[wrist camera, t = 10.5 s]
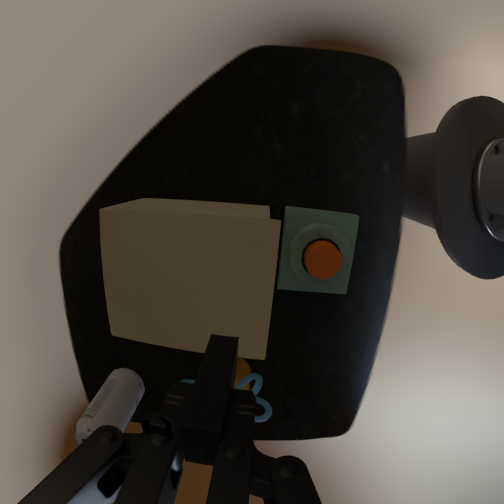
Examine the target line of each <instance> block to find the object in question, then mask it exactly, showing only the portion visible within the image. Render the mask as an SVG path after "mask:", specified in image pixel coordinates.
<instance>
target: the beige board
mask: <svg viewBox="0 0 504 504" xmlns="http://www.w3.org/2000/svg"><path fill="white" fill-rule="evenodd" d="M280 227H281V220H275V219H265V218H254V217H242V216H230V215H217V214H204V213H190V212H175V211H158V210H139V209H118V208H102V209H100V236H101V253H102V266H103V277H104V286H105V294H106V302H107V309H108V316H109V322H110V328H111V334H112V335H114V336H118V337H122V338H127V339H131V340H136V341H140V342H145V343H150V344H155V345H160V346H166V347H171V348H177V349H183V350H189V351H195V352H202V353H205V350H206V347H207V344H208V341H209V339H210V336H211V334H215V335H223V336H232V337H239V341H238V356H237V357H241V358H250V359H261V360H265V355H266V347H267V340H268V332H269V324H270V316H271V308H272V299H273V291H274V282H275V274H276V265H277V256H278V246H279V237H280Z"/></svg>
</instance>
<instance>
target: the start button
mask: <svg viewBox="0 0 504 504" xmlns="http://www.w3.org/2000/svg"><path fill="white" fill-rule="evenodd" d="M304 262H305V265H306V268H307V270H308V272H309V273H310V274H311V275H312V276H313V277H315V278H318V279H328V278H331V277H333V276H334V275H335V274H336V273H337V272H338V271H339V269H340V267H341V264H342V258H341V254H340V252H339V250H338V249H337V248H336V247H335V246H334V245H333V244H332V243H331V242H329V241H326V240H318V241H315V242H313V243H312V244H310V245H309V246H308V247H307V249H306V251H305V254H304Z"/></svg>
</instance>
